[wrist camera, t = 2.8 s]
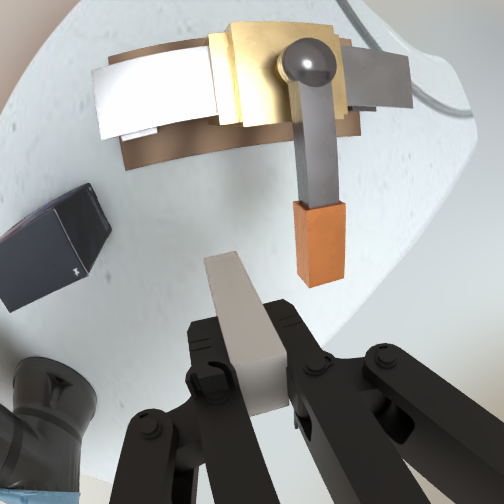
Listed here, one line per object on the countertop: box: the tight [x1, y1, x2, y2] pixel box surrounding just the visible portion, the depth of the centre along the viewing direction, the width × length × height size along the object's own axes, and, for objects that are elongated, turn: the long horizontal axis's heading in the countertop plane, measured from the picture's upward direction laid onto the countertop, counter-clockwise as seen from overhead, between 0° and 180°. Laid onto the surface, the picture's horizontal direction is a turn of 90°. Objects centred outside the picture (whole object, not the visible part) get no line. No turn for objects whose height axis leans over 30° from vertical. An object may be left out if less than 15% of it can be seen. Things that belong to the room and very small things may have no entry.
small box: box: [0, 183, 112, 313], centre depth 23 cm, size 11×6×10 cm, turn 107°
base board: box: [108, 38, 361, 171], centre depth 26 cm, size 26×12×2 cm, turn 97°
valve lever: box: [277, 38, 346, 288], centre depth 16 cm, size 15×3×2 cm, turn 7°
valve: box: [92, 21, 413, 141], centre depth 20 cm, size 25×7×13 cm, turn 97°
